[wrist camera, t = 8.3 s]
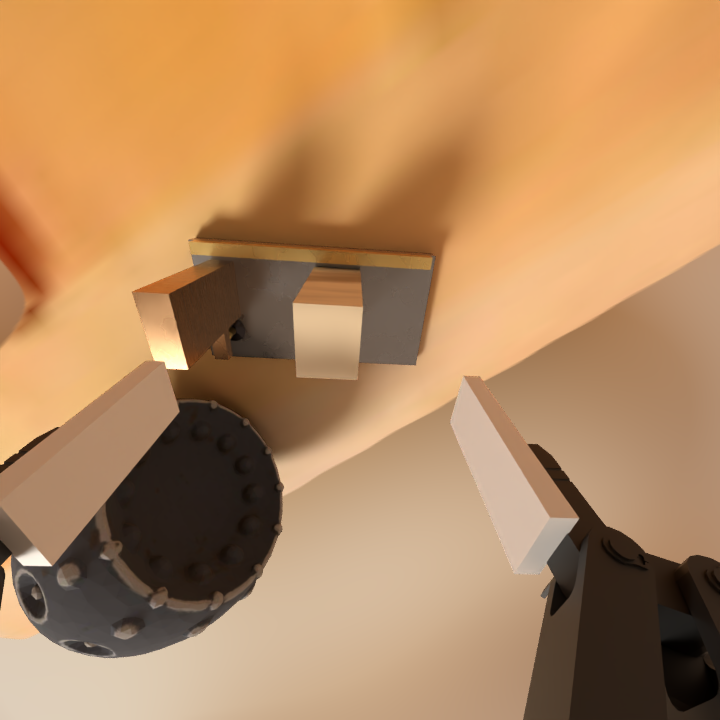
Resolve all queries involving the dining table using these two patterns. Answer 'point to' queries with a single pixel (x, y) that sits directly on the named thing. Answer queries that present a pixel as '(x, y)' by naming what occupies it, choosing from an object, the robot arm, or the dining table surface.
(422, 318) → the grey board with posts
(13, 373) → the dining table surface
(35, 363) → the dining table surface
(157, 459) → the dark studded bowl
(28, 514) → the robot arm
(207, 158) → the dining table surface
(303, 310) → the block
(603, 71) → the dining table surface
